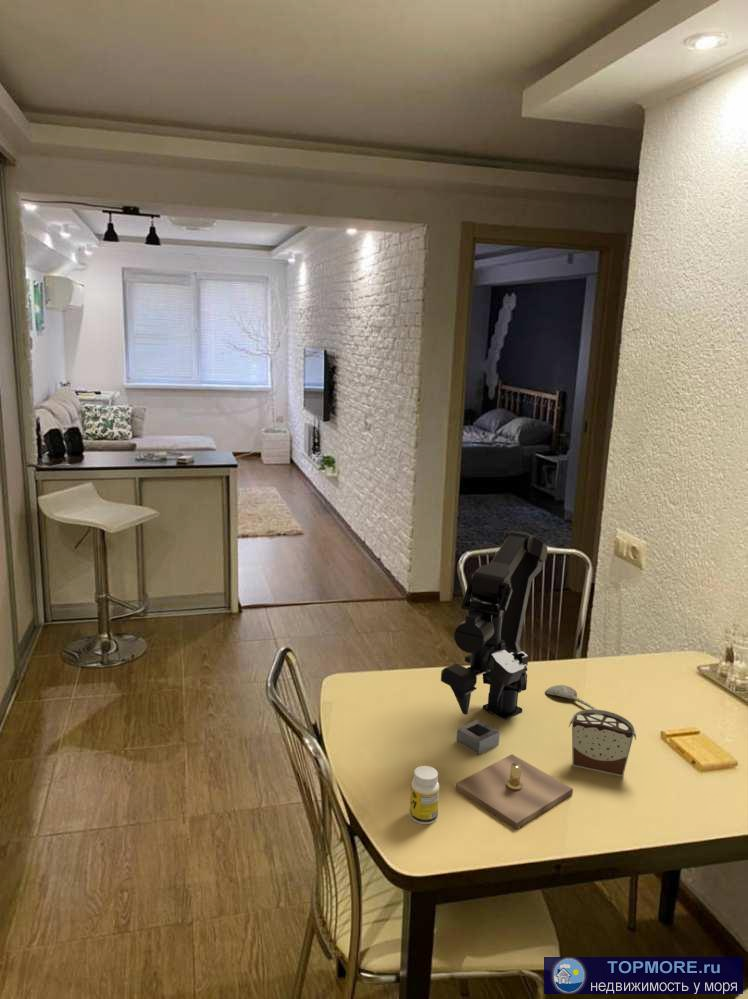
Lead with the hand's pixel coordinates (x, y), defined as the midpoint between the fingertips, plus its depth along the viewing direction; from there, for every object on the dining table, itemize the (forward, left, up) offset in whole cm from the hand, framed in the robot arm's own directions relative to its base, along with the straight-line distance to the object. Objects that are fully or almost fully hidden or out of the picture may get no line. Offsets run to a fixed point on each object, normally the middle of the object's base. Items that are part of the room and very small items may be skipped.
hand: (480, 706), depth 146 cm
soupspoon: (-31, +5, -9) cm, 32 cm away
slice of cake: (-14, +19, -8) cm, 25 cm away
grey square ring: (0, 0, -8) cm, 8 cm away
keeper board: (+7, +15, -8) cm, 19 cm away
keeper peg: (+7, +15, -7) cm, 18 cm away
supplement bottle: (+25, +10, -8) cm, 28 cm away
